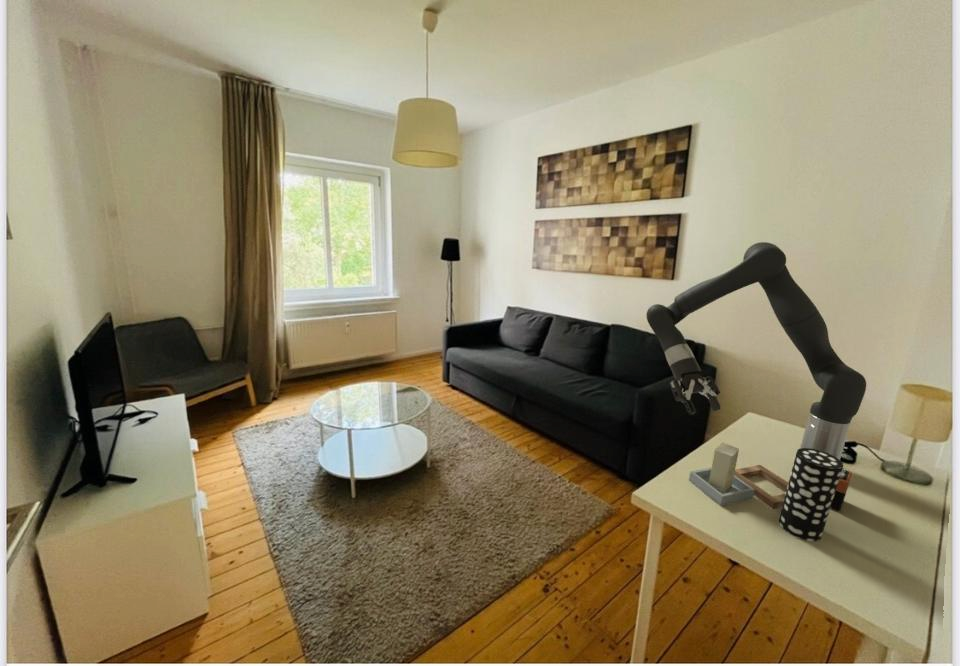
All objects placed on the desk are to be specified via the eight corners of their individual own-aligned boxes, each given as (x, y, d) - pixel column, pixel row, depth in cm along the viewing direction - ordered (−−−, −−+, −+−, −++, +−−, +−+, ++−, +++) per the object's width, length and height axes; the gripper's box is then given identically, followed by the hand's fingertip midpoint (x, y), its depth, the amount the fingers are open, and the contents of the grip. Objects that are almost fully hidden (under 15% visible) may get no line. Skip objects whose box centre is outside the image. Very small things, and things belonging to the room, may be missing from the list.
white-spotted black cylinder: (771, 514, 100) (789, 446, 95) (807, 518, 99) (827, 449, 93) (790, 538, 92) (810, 466, 87) (829, 543, 91) (853, 470, 85)
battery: (818, 503, 104) (827, 471, 101) (822, 492, 108) (832, 461, 106) (839, 512, 101) (850, 479, 98) (843, 500, 105) (853, 469, 103)
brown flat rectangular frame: (758, 470, 118) (760, 464, 117) (806, 501, 105) (808, 494, 104) (727, 476, 115) (728, 470, 114) (772, 509, 102) (774, 502, 101)
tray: (719, 474, 116) (720, 465, 115) (752, 498, 106) (754, 489, 105) (688, 480, 113) (690, 471, 112) (720, 506, 103) (722, 496, 102)
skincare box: (724, 495, 106) (732, 457, 103) (706, 487, 109) (714, 449, 106) (732, 486, 110) (740, 448, 107) (715, 478, 113) (722, 441, 110)
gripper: (670, 358, 115) (693, 410, 107) (709, 354, 119) (734, 404, 111) (655, 368, 121) (677, 418, 114) (692, 364, 125) (716, 413, 117)
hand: (705, 411), depth 112 cm, fingers open, 8 cm apart
